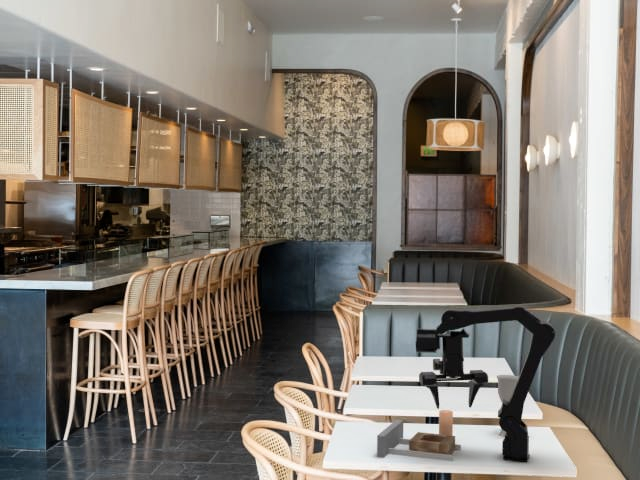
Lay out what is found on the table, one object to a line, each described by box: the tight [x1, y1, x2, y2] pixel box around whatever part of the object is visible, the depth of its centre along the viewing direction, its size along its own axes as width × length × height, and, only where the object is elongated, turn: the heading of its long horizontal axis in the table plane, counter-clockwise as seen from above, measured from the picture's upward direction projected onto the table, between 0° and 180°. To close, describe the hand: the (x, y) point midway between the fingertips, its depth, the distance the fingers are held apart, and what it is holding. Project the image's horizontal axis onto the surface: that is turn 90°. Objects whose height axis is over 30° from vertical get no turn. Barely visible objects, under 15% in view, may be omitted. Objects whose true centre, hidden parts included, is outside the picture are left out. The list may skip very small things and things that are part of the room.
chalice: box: [496, 374, 519, 438], centre depth 250 cm, size 7×7×18 cm
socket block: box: [408, 431, 456, 455], centre depth 230 cm, size 11×10×4 cm
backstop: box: [376, 419, 462, 462], centre depth 231 cm, size 20×20×6 cm
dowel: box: [438, 409, 454, 436], centre depth 241 cm, size 4×4×9 cm
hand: (453, 407), depth 229 cm, fingers open, 9 cm apart
